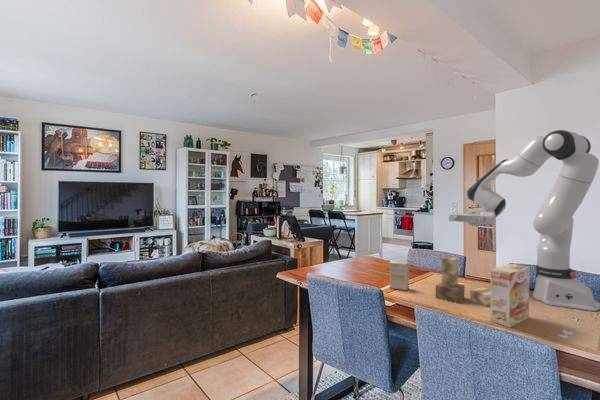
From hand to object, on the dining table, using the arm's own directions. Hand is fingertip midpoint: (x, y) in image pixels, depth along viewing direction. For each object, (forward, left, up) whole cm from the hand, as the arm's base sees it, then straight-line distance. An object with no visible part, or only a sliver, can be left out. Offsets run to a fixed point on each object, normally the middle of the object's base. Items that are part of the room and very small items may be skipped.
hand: (466, 219), depth 153 cm
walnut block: (+2, +15, -34) cm, 37 cm away
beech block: (-11, +10, -34) cm, 37 cm away
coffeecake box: (-23, +24, -34) cm, 48 cm away
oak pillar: (+2, +14, -28) cm, 32 cm away
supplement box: (+25, +17, -34) cm, 46 cm away
